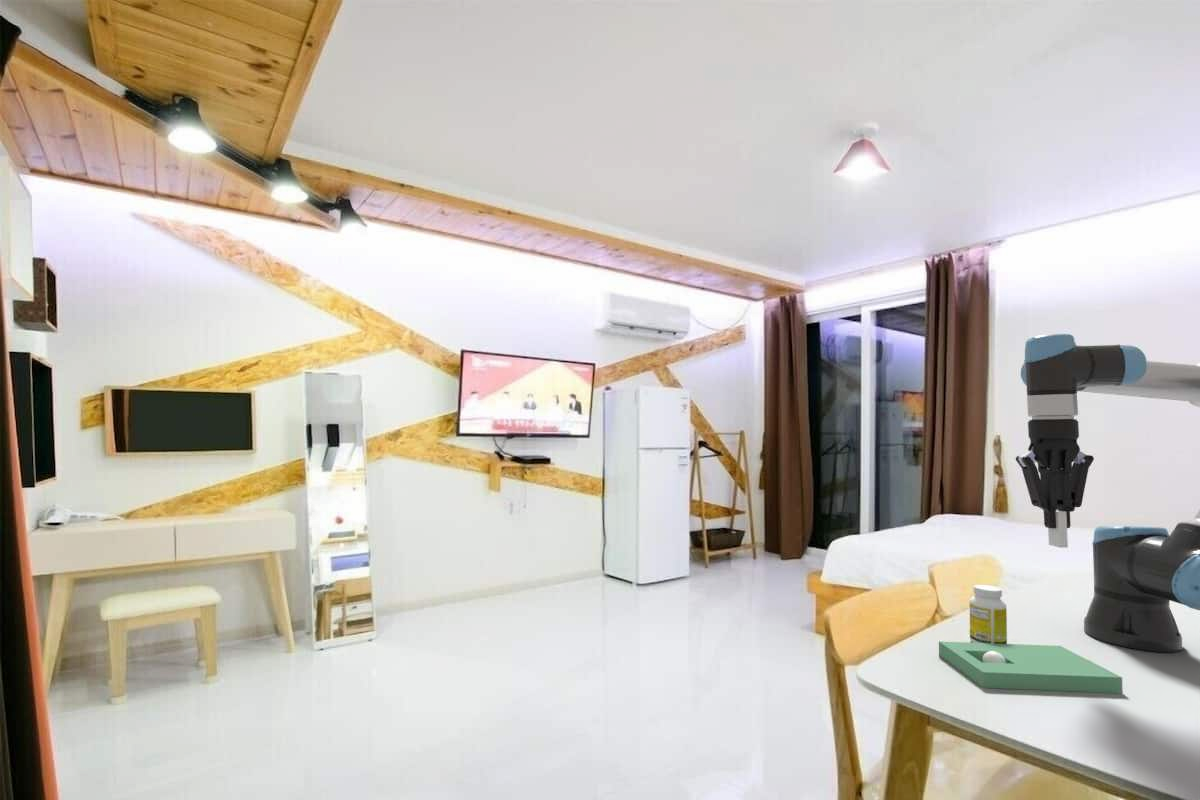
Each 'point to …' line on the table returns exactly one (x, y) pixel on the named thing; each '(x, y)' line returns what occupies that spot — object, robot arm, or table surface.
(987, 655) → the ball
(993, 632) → the pill bottle
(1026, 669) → the green
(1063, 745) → the table surface
